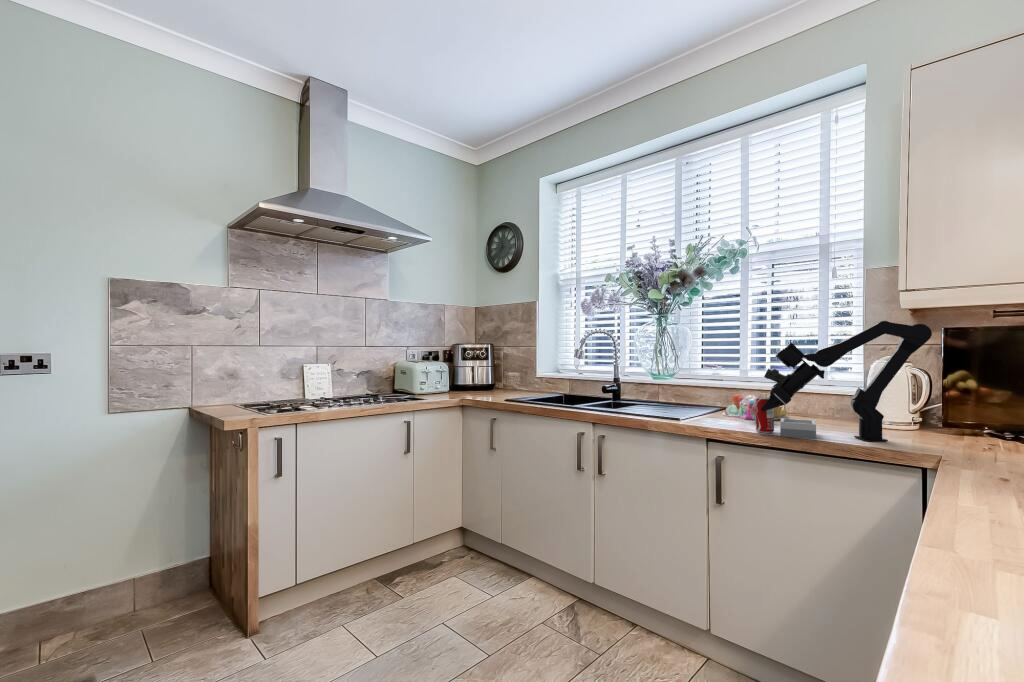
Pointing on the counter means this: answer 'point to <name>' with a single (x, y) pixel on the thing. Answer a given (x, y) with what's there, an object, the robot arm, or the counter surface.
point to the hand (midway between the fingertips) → (762, 409)
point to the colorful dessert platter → (748, 408)
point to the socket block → (798, 428)
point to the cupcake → (753, 409)
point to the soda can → (764, 417)
